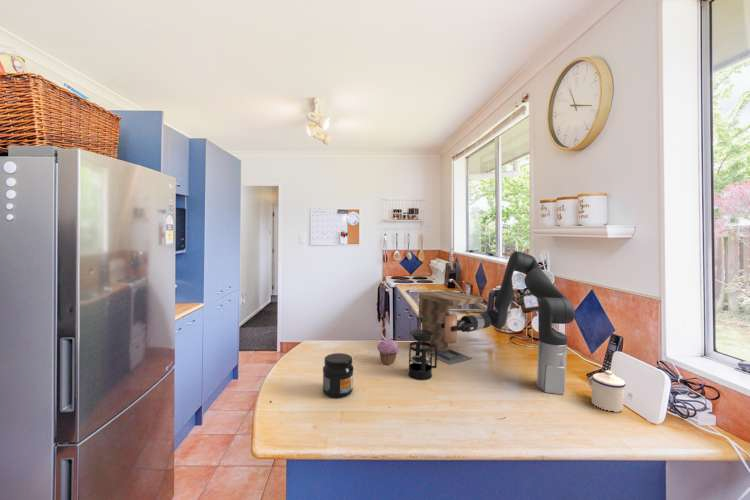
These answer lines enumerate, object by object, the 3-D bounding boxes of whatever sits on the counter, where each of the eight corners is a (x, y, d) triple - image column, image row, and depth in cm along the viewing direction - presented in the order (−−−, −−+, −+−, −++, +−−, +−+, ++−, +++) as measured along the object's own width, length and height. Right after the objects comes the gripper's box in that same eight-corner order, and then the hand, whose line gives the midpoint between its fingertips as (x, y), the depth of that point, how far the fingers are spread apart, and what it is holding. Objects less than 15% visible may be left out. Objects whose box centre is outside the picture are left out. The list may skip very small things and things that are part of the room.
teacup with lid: (631, 412, 107) (633, 376, 107) (606, 414, 106) (608, 377, 105) (599, 394, 119) (601, 362, 118) (577, 396, 117) (579, 363, 117)
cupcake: (373, 361, 145) (373, 338, 145) (388, 357, 150) (389, 335, 150) (386, 368, 138) (387, 344, 137) (402, 363, 143) (402, 340, 143)
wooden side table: (445, 345, 168) (447, 290, 167) (480, 360, 150) (482, 297, 148) (417, 351, 158) (419, 292, 157) (451, 367, 140) (453, 301, 139)
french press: (409, 380, 127) (411, 320, 126) (404, 370, 136) (405, 314, 135) (439, 379, 128) (441, 320, 127) (432, 369, 138) (433, 314, 136)
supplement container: (359, 393, 116) (359, 358, 115) (333, 402, 109) (334, 366, 108) (341, 382, 124) (342, 350, 123) (316, 390, 117) (317, 356, 116)
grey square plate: (449, 349, 163) (449, 346, 163) (472, 358, 151) (472, 355, 151) (427, 354, 155) (427, 351, 155) (449, 364, 143) (449, 361, 143)
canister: (456, 343, 150) (457, 316, 149) (444, 342, 151) (444, 316, 150) (456, 339, 155) (457, 314, 154) (444, 338, 156) (444, 313, 156)
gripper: (461, 311, 166) (435, 315, 157) (484, 318, 154) (458, 323, 145) (460, 326, 167) (435, 331, 157) (484, 334, 154) (458, 340, 145)
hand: (446, 327), depth 151 cm, fingers closed on canister, 5 cm apart
